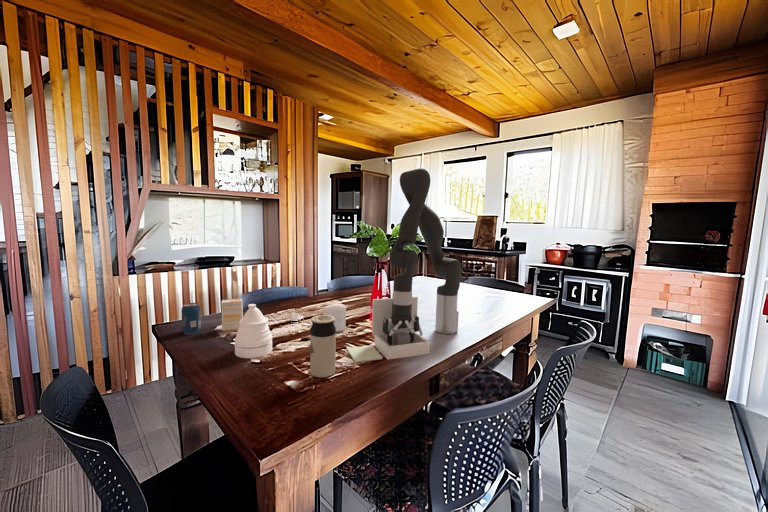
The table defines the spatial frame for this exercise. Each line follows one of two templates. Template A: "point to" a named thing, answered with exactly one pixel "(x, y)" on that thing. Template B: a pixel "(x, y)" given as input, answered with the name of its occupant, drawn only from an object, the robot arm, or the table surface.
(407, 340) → the block
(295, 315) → the teacup and saucer
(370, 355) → the mat
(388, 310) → the case
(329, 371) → the travel mug
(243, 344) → the honey pot
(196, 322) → the soda can
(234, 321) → the supplement box
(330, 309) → the photo printer
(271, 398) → the table surface
